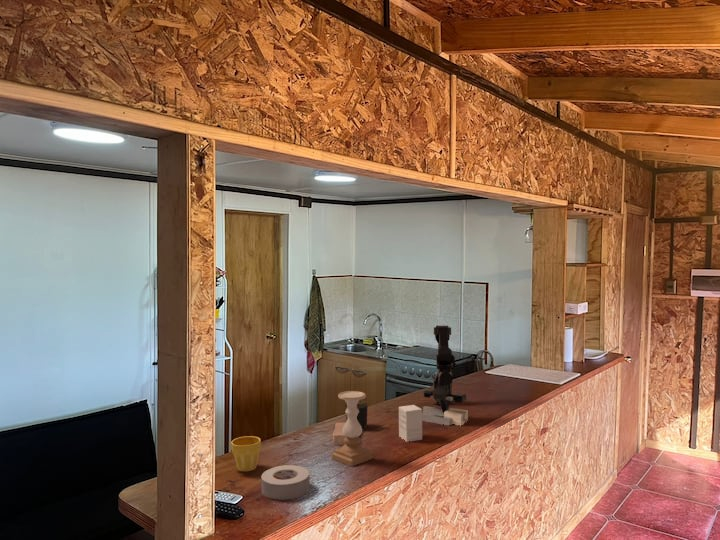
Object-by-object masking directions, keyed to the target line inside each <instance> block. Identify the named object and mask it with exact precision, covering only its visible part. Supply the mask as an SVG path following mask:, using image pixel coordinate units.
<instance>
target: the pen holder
mask: <svg viewBox="0 0 720 540" xmlns="http://www.w3.org/2000/svg"><path fill="white" fill-rule="evenodd" d="M368 406H369V405H368V403H357V408H358V410H359V413H358V415H357V420H358V422H359V424H360V425H361V427H362V431H364V430H366V429H367V427H368ZM346 409H347V403H346V404H345V410H346ZM345 418H346V419H345V421H347V419H348V416H347V415H346V414H345Z"/></svg>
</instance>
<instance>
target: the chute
mask: <svg viewBox="0 0 720 540" xmlns="http://www.w3.org/2000/svg"><path fill="white" fill-rule="evenodd" d="M422 422H428V423H433V424H437V425H438V424H439V425H443V424H444V425H445V426H449V425H450V426H451V425H452V424H451V417H445V416H444V414H443V411H442V409H441V407H433V406H427V405H424V406H422Z"/></svg>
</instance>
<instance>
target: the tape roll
mask: <svg viewBox="0 0 720 540" xmlns="http://www.w3.org/2000/svg"><path fill="white" fill-rule="evenodd" d="M260 479H261V482H260V483H261V486H260V487H261V494H262V495H263V496H264V497H266V498H269V499H273V500H278V501H279V500H280V501H281V500H282V501H284V500H291V499H297V498H300V497H302V496H304V495H307V493H309V491H310V489H311V484H310V483H311V481H310V471H309V470H308V469H307V468H306V467H304V466H301V465H294V464H293V465H291V464H288V465H285V464H283V465H277V466H274V467H272V468H268V469H267V470H265V471H263V472H262V474H261V475H260Z"/></svg>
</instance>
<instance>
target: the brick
mask: <svg viewBox="0 0 720 540" xmlns="http://www.w3.org/2000/svg"><path fill="white" fill-rule="evenodd" d="M345 423H346V422H336V423H335V426H334V427H335V428H334V430H333V433H332V445H333V446H337V447H338V446H342V445H345V442H344V439H345V437H346V436H345V435H344V434H343V432H342V429H343V426H344V425H345Z"/></svg>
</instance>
